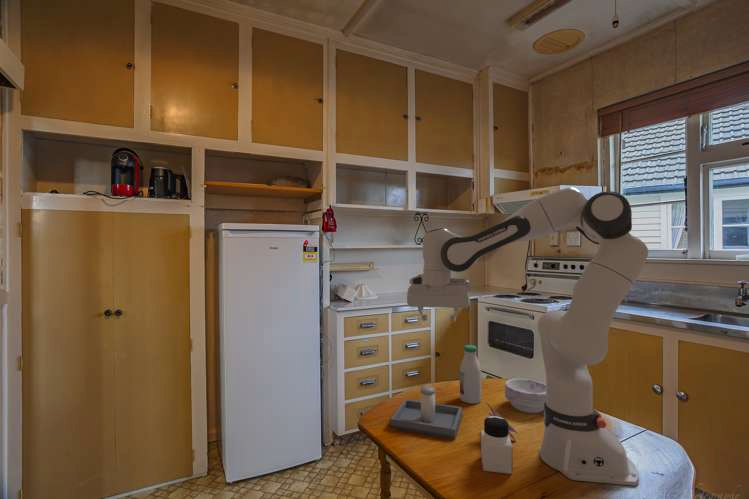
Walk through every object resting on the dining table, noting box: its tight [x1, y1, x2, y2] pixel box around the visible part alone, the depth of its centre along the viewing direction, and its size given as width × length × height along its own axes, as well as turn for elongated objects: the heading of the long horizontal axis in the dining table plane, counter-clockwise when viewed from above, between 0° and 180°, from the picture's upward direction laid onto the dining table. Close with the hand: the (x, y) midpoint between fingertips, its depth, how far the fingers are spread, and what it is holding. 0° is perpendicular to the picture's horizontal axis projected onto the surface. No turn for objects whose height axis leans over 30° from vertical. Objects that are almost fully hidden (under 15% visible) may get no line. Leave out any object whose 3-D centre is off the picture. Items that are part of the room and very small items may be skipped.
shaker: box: [420, 385, 436, 423], centre depth 122 cm, size 5×5×10 cm
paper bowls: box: [504, 378, 546, 414], centre depth 132 cm, size 15×15×8 cm
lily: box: [485, 401, 518, 442], centre depth 112 cm, size 12×12×10 cm
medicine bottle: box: [480, 415, 513, 475], centre depth 98 cm, size 7×7×12 cm
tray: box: [390, 398, 463, 441], centre depth 122 cm, size 20×16×3 cm
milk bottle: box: [459, 344, 482, 405], centre depth 139 cm, size 8×8×20 cm
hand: (438, 320), depth 123 cm, fingers open, 8 cm apart
